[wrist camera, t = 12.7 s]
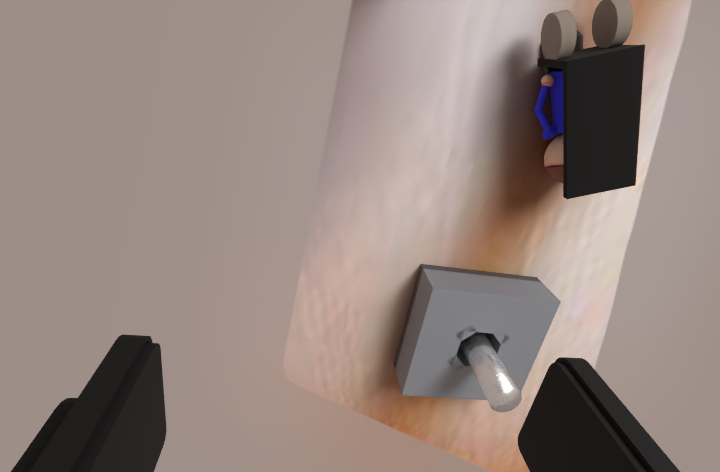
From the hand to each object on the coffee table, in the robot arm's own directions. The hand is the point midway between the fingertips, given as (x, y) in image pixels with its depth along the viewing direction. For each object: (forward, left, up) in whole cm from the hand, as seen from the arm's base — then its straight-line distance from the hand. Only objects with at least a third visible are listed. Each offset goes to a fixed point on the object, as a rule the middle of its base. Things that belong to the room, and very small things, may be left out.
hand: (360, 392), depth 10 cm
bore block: (+19, +19, -31) cm, 41 cm away
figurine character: (-7, +21, -31) cm, 39 cm away
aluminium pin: (+19, +19, -30) cm, 40 cm away
